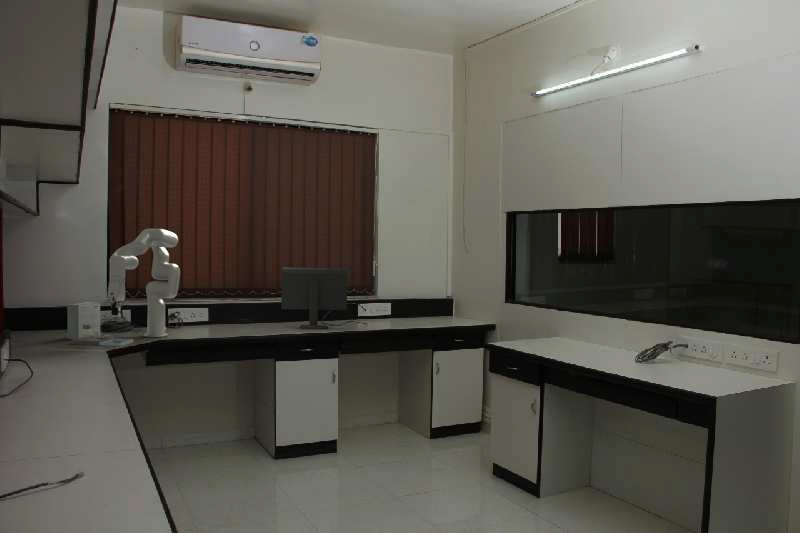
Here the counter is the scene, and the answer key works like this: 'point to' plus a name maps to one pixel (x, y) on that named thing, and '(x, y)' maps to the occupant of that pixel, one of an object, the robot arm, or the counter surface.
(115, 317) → the fuse
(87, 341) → the fuse holder
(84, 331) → the fuse
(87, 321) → the hard drive box
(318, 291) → the computer monitor
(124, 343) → the parts tray
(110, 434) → the counter surface
